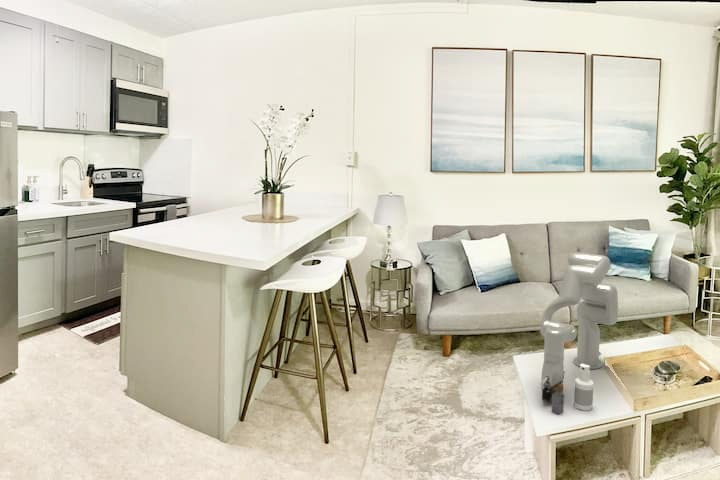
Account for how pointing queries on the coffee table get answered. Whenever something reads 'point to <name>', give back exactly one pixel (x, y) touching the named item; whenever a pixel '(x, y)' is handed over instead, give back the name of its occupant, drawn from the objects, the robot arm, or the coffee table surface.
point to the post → (557, 402)
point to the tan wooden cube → (554, 390)
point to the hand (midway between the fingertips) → (552, 395)
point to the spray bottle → (583, 389)
